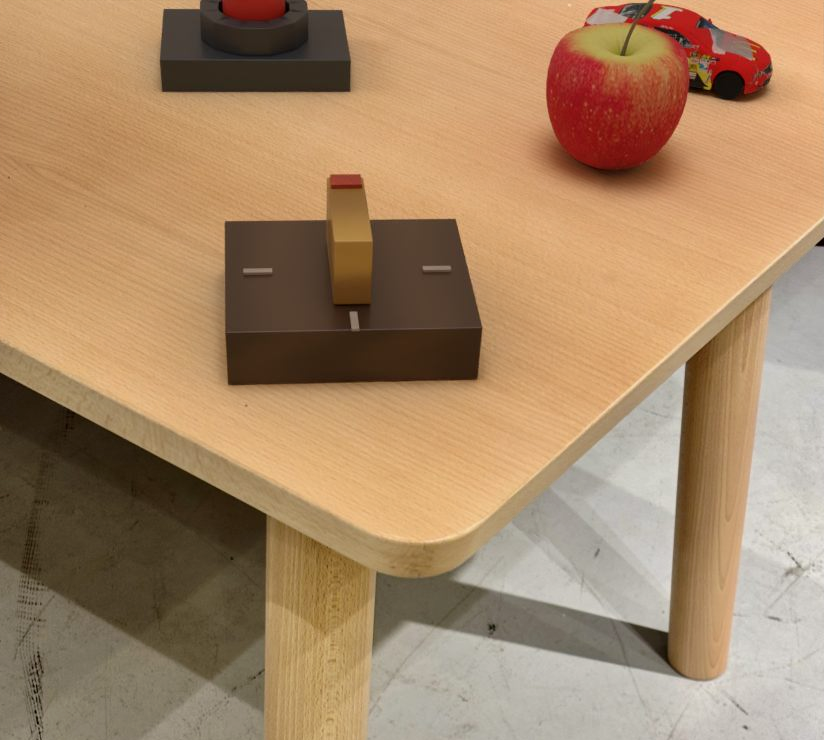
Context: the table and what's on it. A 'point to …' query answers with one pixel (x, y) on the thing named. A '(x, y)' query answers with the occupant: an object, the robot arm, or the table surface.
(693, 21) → the race car
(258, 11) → the release button
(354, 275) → the lock
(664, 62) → the apple
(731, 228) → the table surface
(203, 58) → the button box
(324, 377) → the plate
